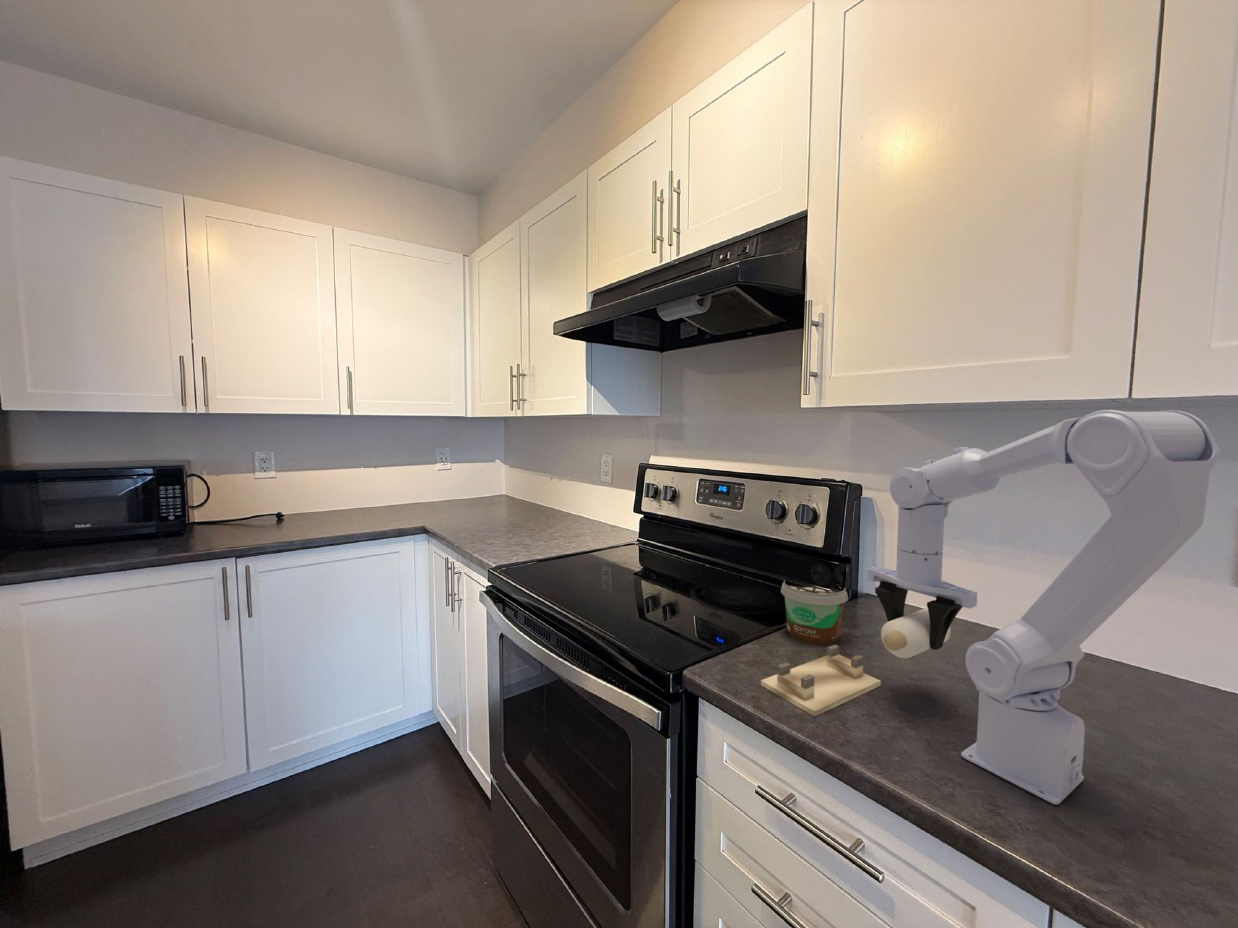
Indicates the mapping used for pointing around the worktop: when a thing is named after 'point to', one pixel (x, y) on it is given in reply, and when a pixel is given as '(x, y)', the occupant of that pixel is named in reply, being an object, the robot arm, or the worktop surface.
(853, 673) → the cradle
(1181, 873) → the worktop surface
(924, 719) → the worktop surface
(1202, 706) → the worktop surface
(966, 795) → the worktop surface
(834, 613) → the food container
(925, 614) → the white cylinder with cap
